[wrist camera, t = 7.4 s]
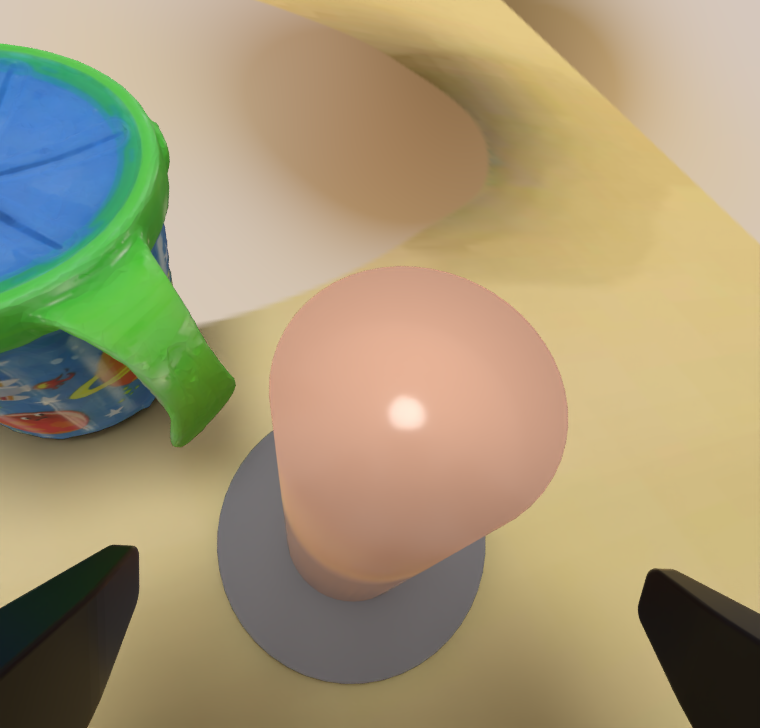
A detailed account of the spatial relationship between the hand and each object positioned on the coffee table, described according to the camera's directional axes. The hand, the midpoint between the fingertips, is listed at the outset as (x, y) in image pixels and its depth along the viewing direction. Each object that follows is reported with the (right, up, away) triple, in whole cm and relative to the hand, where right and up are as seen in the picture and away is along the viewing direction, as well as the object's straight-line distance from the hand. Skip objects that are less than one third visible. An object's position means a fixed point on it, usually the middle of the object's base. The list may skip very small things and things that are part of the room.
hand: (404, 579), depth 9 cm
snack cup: (-13, +4, +13) cm, 18 cm away
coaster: (-1, -3, +11) cm, 11 cm away
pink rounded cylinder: (-1, -2, +10) cm, 10 cm away
